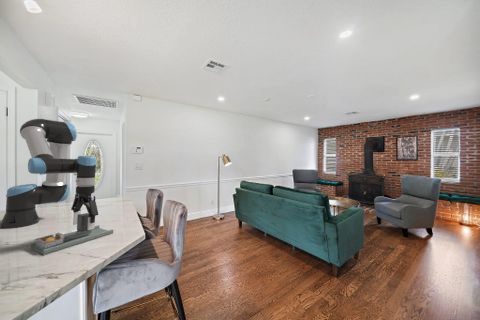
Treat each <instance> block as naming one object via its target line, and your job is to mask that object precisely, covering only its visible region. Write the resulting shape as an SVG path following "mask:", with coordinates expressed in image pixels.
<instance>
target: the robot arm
mask: <svg viewBox="0 0 480 320" xmlns="http://www.w3.org/2000/svg"><path fill="white" fill-rule="evenodd" d="M19 133H20V136H21V138H22V139H24V140H25V143H26V144H27V148H28V151H29V153H30V157H31V158H29V159H28V162H27V171H28V173H30V174H33V175H36V174H37V175H38V174H39V175H46V176H45V180H44V181H43V182H42V183H41V185H38V184H36V183H28V184H21V185H14V186H10V187H9V188H8V189H7V191H6V194H5V197H6V203H5V213H4V215H3V218H2V219H1V221H0V228H1V229H14V228H23V227H27V226H32V225H35V224H38V223H39V221H40V217H39V214H38V212H37V209H36V208H37V207H36V206H37V205H47V204H54V203H55V204H56V203H61V202H64V201H66V200H67V199H68V198H69V195H70V185H69V184H67V181H65V176H66V175H65V174H76V179H75V184H76V187H75V195H74V199H73V203H72V206H71V208H70V210H71V211H73V218H72V219H73V221H72V225H73V226H77V217H78V215H79V214H82V213H81V211H82V209H81V208H82V207H83V206H85V208H86V211H87V213H88V214H89V216H88V230H91V229H94V228H95V226H96V225H95V224H96V216H98V215H99V210H98V206H97V201H96V196H95V195H92V194H94V193H95V188H96V187H95V184H96V170H97V169H96V168H97V167H96V166H97V158H96V156H94V155H93V156H91V155H78V156H77V158H68V150H69V146H71V145H72V144H73V142H75V141H77V140H76V139H77V138H78V136H77V129H76V127H75V125H74V124H72V123H69V122H67V121H58V120H53V119H46V118H33V119H30V120H27V121H25V122H24V123H23V124H22V125H21V126H20V128H19Z"/></svg>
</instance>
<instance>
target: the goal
mask: <svg viewBox="0 0 480 320" xmlns="http://www.w3.org/2000/svg"><path fill="white" fill-rule="evenodd" d="M49 237H55V234H48V235H45V236H41V237H37V238H34V242H35V247H36V248H38V249H40V250H42V251H43V250H45V249H48V248H52V247H55V246H58V245H62V244H63V239H58V240H55V241H51V242H45V240H46V239H47V238H49Z"/></svg>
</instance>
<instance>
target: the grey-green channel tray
mask: <svg viewBox="0 0 480 320" xmlns="http://www.w3.org/2000/svg"><path fill="white" fill-rule="evenodd" d="M112 234H114V229H104V228H100V225H99V224H98V225H95V228H94V229H91V233H90V234H87V235H83V236H80V237H76V238H73V239H69V240H66V241H64V243H63V244H62V245H58V246H55V247H52V248H48V249H45V250H43V251H42V250H40V249H38V248H36V247H35V241H34V242H30V243H29V246H28V247H29V249H31V250H33V251H34V252H37V253H39V254H41V255H42V256H47V255H49V254H52V253H55V252H56V253H57V252H58V251H59V252H60V251H62V250H65V249H68V248H72V247H74V246H78V245H81V244H83V243H87V242H91V241H93V240H96V239H100V238H103V237H106V236H109V235H112Z"/></svg>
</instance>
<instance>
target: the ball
mask: <svg viewBox="0 0 480 320" xmlns="http://www.w3.org/2000/svg"><path fill="white" fill-rule="evenodd" d="M55 240H56V238H55V236H54V237H49V238H47V239H46V240H45V242H51V241H55Z"/></svg>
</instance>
